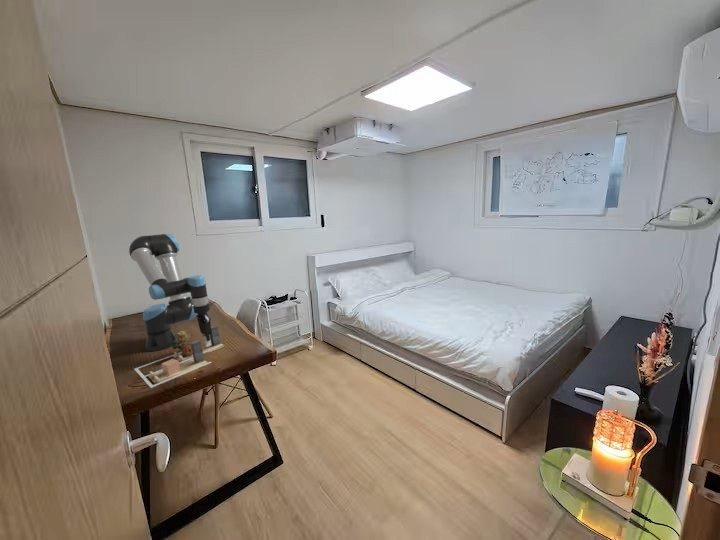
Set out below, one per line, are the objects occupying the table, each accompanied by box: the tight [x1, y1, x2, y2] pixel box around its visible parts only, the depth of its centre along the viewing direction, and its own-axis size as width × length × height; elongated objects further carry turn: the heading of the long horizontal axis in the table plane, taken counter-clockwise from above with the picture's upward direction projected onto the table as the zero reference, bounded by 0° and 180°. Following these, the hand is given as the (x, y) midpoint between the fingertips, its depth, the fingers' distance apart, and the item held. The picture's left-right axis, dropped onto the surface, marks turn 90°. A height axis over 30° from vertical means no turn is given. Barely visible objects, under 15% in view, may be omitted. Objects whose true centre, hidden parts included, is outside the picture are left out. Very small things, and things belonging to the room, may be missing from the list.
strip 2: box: [172, 325, 225, 363], centre depth 154 cm, size 11×22×11 cm, turn 140°
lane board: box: [133, 351, 212, 389], centre depth 140 cm, size 27×25×1 cm
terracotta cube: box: [161, 358, 181, 376], centre depth 134 cm, size 5×5×5 cm
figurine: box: [170, 329, 193, 358], centre depth 148 cm, size 9×8×15 cm
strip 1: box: [147, 339, 209, 385], centre depth 136 cm, size 11×22×11 cm, turn 140°
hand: (208, 345), depth 158 cm, fingers closed
